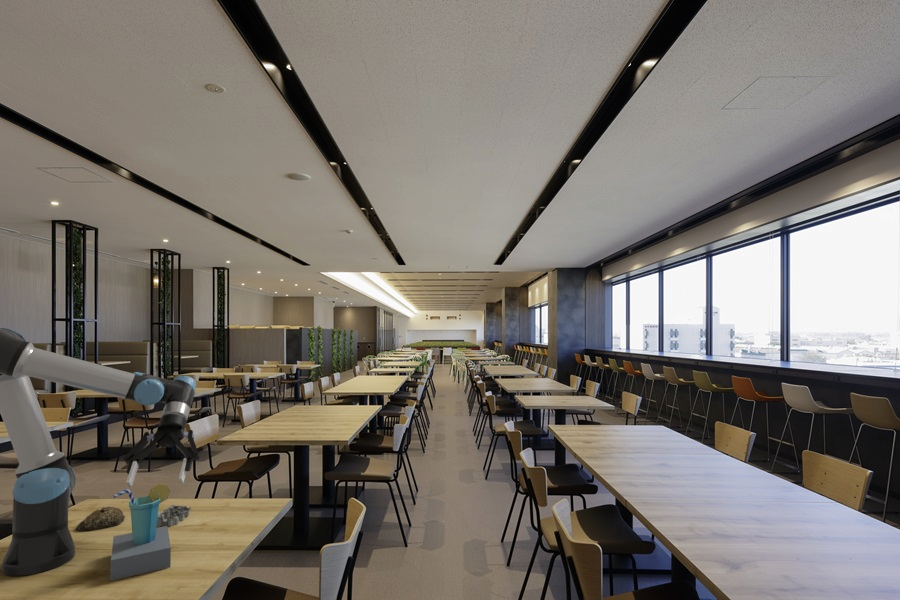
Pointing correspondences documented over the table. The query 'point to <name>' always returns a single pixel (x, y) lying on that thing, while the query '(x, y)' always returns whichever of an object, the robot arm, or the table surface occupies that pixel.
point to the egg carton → (175, 511)
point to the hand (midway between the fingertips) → (155, 482)
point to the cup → (145, 513)
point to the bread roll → (102, 519)
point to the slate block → (139, 555)
